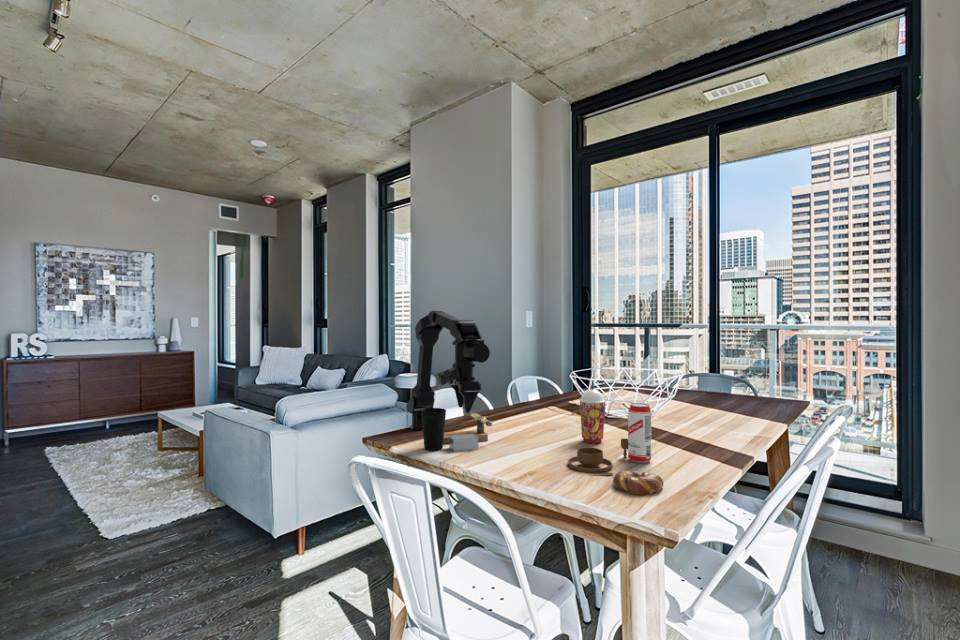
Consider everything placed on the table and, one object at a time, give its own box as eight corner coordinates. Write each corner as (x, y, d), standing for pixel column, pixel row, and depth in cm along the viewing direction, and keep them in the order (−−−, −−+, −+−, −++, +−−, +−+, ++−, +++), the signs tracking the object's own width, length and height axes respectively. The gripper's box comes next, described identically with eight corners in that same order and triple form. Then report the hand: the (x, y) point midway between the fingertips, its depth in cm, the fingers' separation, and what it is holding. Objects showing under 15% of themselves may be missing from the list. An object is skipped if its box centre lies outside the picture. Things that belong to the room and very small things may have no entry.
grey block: (449, 448, 149) (449, 436, 149) (473, 446, 151) (473, 433, 152) (453, 452, 144) (453, 439, 144) (478, 449, 147) (478, 437, 147)
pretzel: (653, 480, 120) (653, 466, 120) (672, 496, 109) (672, 480, 109) (606, 480, 120) (606, 465, 120) (620, 496, 109) (620, 480, 109)
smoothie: (577, 438, 161) (577, 379, 161) (602, 438, 161) (602, 379, 161) (581, 444, 153) (582, 382, 153) (608, 445, 152) (608, 382, 152)
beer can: (642, 465, 131) (642, 407, 131) (623, 459, 136) (623, 404, 136) (655, 461, 135) (655, 405, 135) (636, 456, 140) (637, 401, 140)
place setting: (560, 459, 139) (560, 439, 139) (627, 457, 141) (627, 437, 141) (577, 479, 122) (577, 456, 122) (653, 477, 123) (653, 454, 123)
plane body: (433, 439, 160) (433, 420, 160) (481, 435, 164) (482, 418, 164) (437, 444, 153) (437, 425, 153) (487, 440, 157) (487, 422, 157)
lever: (478, 415, 168) (478, 412, 168) (495, 425, 152) (495, 421, 152) (468, 416, 167) (468, 413, 167) (484, 426, 151) (484, 422, 151)
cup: (447, 445, 151) (448, 408, 151) (443, 452, 144) (443, 412, 143) (424, 445, 152) (424, 407, 152) (418, 451, 144) (418, 412, 144)
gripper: (433, 358, 155) (433, 405, 156) (444, 363, 138) (444, 417, 138) (466, 357, 158) (466, 404, 159) (481, 362, 141) (481, 415, 141)
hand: (463, 409), depth 149 cm, fingers open, 9 cm apart
